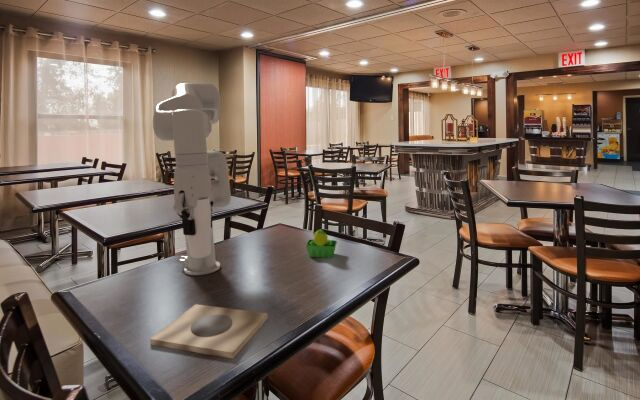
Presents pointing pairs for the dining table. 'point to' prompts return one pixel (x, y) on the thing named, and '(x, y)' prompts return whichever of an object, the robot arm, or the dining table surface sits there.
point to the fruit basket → (321, 245)
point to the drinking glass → (201, 230)
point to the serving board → (210, 330)
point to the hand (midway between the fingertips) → (198, 230)
